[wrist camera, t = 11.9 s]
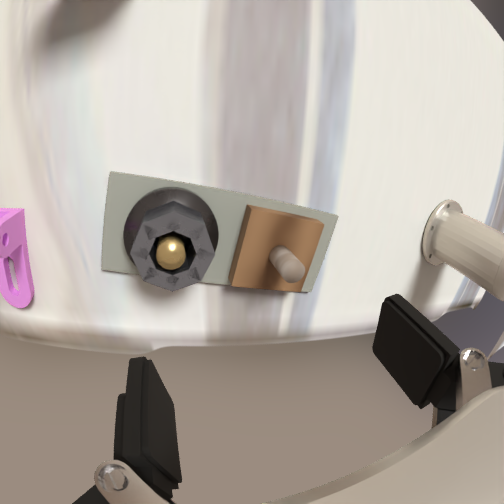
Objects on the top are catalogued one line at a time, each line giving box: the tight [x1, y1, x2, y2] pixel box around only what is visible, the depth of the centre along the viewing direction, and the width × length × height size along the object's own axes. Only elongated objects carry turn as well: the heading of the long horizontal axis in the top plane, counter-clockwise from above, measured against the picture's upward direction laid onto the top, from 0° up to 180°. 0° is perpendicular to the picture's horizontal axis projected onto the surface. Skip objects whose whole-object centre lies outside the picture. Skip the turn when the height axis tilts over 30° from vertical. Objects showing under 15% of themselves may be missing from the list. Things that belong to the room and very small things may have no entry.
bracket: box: [0, 208, 34, 308], centre depth 22 cm, size 13×6×7 cm, turn 169°
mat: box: [101, 171, 338, 292], centre depth 31 cm, size 27×11×1 cm, turn 75°
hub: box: [123, 187, 219, 270], centre depth 26 cm, size 10×10×6 cm
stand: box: [228, 204, 325, 292], centre depth 30 cm, size 9×9×6 cm
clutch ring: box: [130, 201, 215, 291], centre depth 26 cm, size 7×7×4 cm
